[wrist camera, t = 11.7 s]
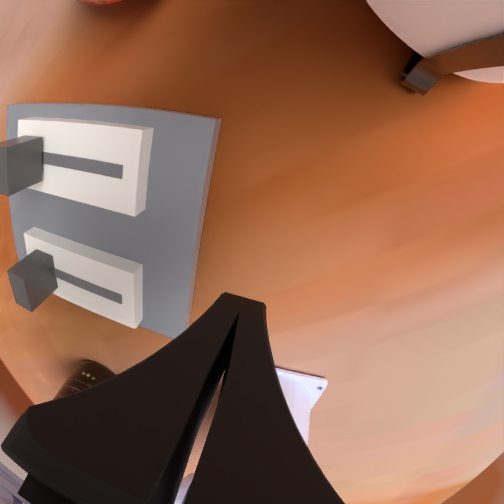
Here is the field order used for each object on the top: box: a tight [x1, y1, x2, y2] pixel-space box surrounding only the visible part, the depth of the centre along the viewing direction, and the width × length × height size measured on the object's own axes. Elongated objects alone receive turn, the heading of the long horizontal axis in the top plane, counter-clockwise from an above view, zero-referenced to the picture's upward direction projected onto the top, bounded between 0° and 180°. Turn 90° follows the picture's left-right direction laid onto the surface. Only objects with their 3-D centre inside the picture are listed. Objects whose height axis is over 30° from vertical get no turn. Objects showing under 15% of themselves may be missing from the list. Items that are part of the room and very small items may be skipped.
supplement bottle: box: [53, 361, 116, 400], centre depth 25 cm, size 7×7×12 cm
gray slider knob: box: [0, 135, 42, 196], centre depth 14 cm, size 3×2×3 cm, turn 168°
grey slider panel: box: [6, 102, 222, 339], centre depth 17 cm, size 16×18×6 cm
